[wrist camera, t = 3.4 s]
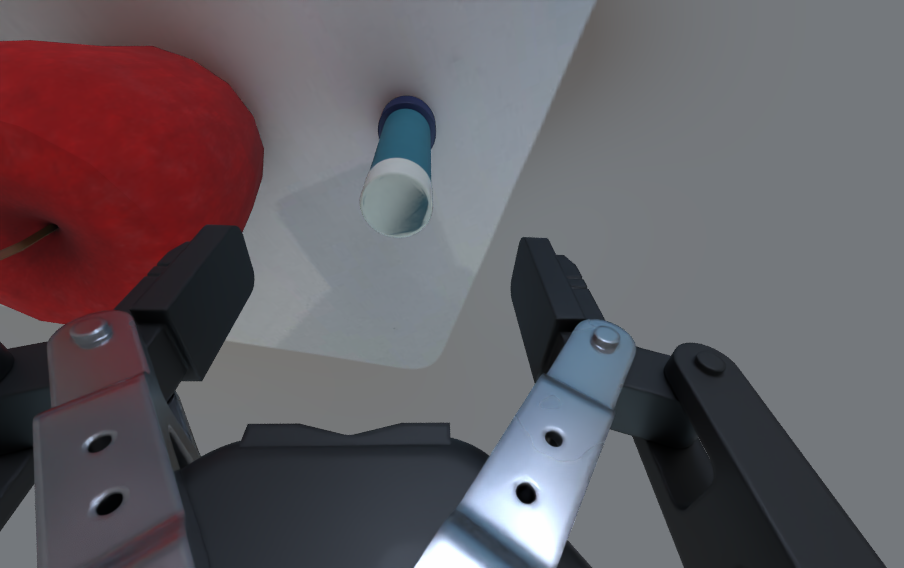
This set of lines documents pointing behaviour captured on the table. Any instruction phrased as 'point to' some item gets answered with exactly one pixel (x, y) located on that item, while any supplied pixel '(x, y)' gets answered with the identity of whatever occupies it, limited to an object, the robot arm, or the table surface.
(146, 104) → the apple
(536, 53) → the table surface
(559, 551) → the robot arm
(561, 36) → the table surface
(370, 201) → the dot marker
